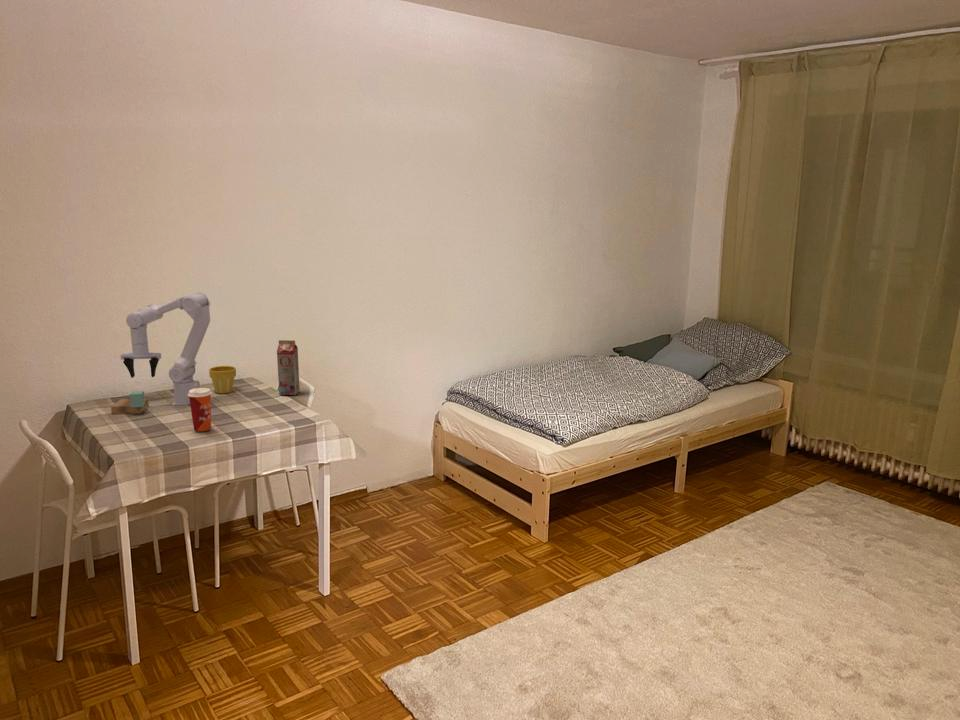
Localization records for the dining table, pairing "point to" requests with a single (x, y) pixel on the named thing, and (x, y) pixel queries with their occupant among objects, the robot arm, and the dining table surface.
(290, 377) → the juice carton
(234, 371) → the plant pot
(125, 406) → the walnut plinth
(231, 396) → the dining table surface
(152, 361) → the robot arm
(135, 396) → the teal block
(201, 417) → the paper cup
